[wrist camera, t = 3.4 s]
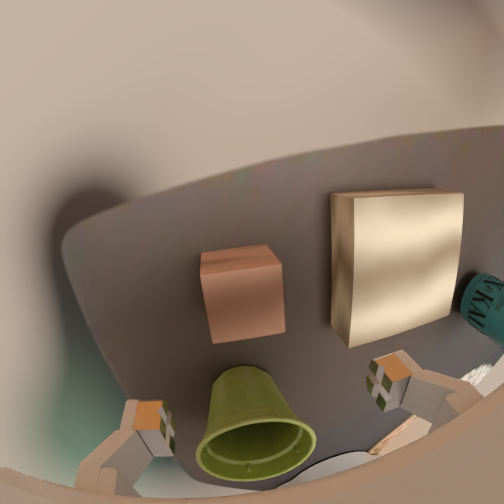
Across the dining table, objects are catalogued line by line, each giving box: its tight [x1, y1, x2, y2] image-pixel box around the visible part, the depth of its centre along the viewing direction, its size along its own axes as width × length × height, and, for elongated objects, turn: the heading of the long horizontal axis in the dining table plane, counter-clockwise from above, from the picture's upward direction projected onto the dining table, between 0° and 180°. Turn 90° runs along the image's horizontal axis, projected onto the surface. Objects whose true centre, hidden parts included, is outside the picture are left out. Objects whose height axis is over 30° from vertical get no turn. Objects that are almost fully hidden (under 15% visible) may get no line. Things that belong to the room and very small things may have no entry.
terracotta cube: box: [200, 244, 285, 344], centre depth 20 cm, size 5×5×5 cm
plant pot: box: [196, 366, 316, 481], centre depth 22 cm, size 9×9×9 cm
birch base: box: [330, 188, 464, 348], centre depth 23 cm, size 12×12×4 cm
